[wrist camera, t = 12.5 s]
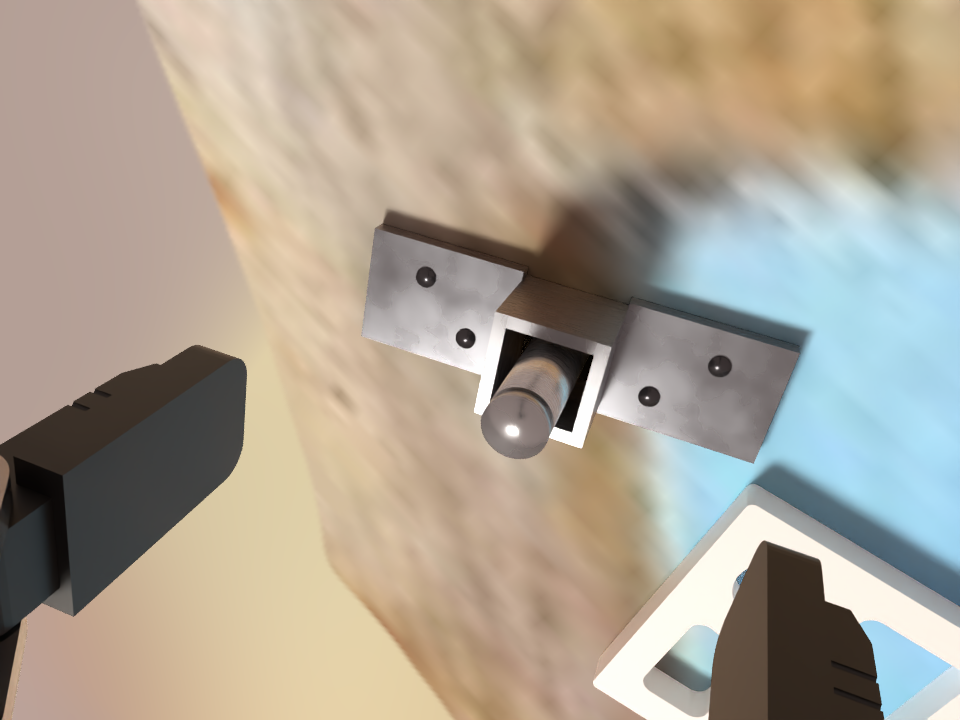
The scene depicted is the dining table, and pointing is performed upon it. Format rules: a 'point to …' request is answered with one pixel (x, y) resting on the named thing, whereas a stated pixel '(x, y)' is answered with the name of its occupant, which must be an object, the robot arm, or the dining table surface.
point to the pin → (531, 399)
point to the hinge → (578, 344)
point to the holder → (713, 586)
